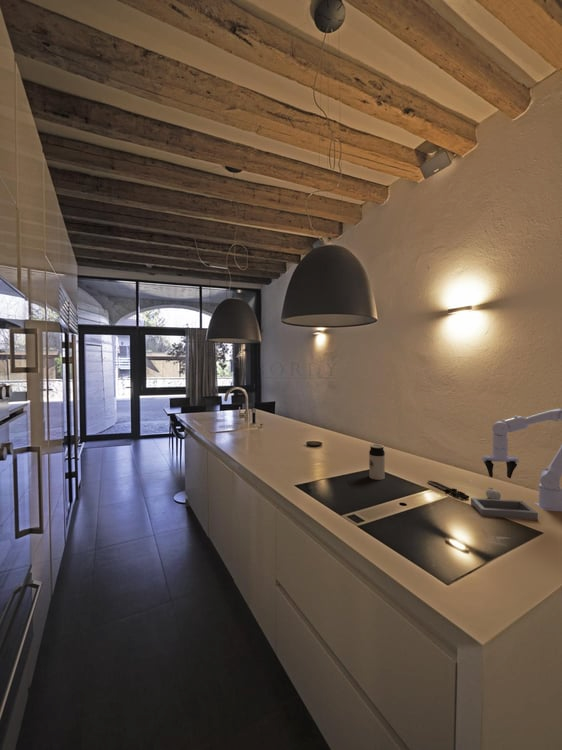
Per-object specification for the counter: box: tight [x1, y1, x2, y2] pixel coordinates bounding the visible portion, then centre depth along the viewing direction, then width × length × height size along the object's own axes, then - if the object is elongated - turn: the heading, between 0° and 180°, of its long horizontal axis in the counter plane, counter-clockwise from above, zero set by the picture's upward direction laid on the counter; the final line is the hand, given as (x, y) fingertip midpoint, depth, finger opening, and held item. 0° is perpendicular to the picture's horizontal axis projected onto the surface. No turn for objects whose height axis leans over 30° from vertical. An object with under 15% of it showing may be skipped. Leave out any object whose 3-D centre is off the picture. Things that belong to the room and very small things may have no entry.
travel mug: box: [368, 443, 386, 481], centre depth 182 cm, size 8×8×18 cm
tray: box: [470, 497, 539, 521], centre depth 139 cm, size 20×12×3 cm, turn 79°
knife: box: [427, 480, 470, 500], centre depth 164 cm, size 25×6×1 cm, turn 10°
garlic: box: [485, 487, 502, 500], centre depth 153 cm, size 6×5×5 cm
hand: (499, 477), depth 155 cm, fingers open, 7 cm apart
